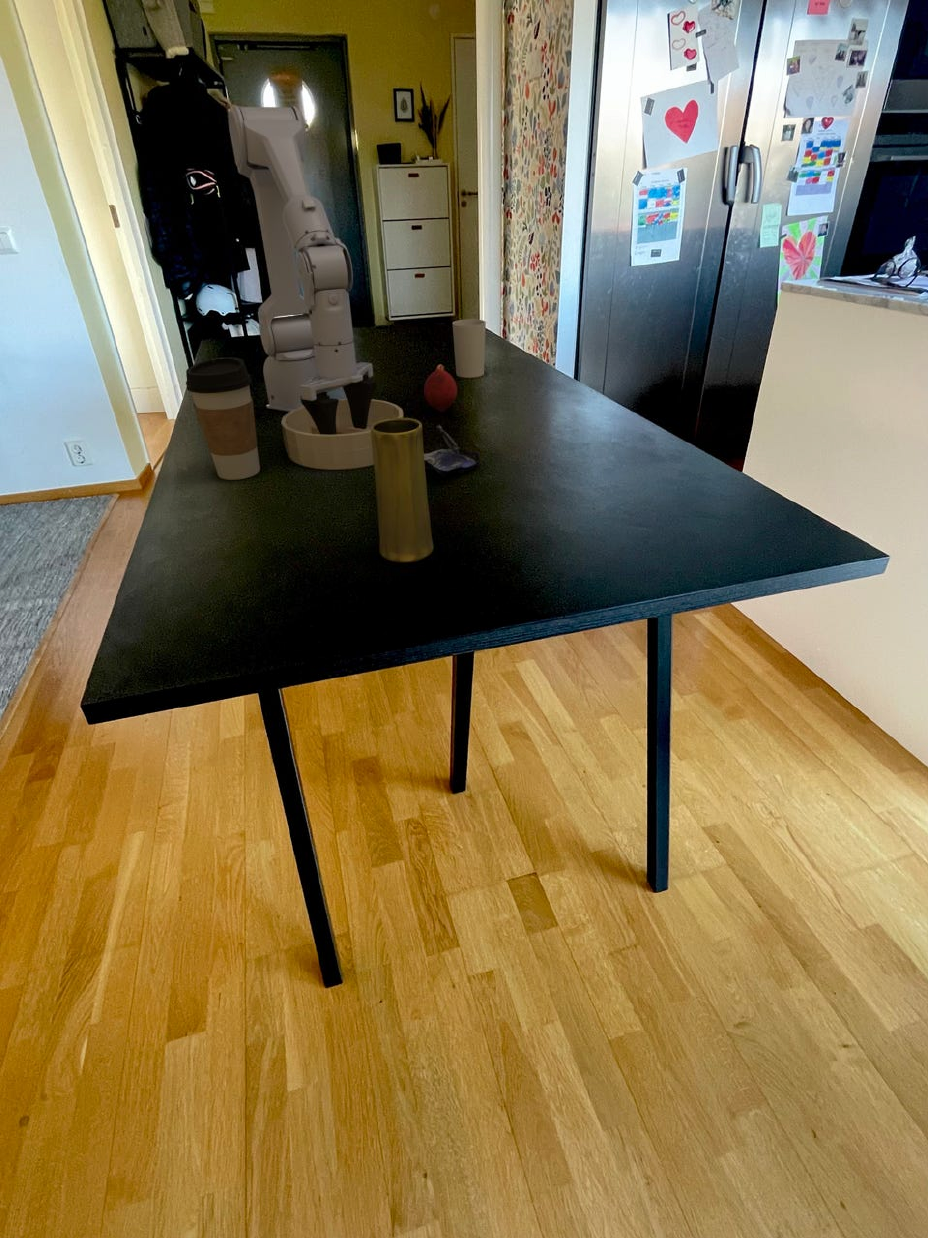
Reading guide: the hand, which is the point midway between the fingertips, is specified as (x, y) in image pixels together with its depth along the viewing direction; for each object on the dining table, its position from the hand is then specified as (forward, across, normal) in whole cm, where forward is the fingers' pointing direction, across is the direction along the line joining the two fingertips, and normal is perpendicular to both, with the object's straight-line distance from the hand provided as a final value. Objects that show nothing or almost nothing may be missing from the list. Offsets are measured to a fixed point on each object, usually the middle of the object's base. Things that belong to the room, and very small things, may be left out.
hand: (345, 435), depth 102 cm
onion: (+2, +22, -4) cm, 22 cm away
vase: (+2, -24, -27) cm, 36 cm away
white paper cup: (+2, +47, +4) cm, 47 cm away
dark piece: (+2, -1, -17) cm, 17 cm away
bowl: (+2, 0, 0) cm, 2 cm away
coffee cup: (+2, -15, +8) cm, 17 cm away
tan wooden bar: (+1, 0, 0) cm, 1 cm away
